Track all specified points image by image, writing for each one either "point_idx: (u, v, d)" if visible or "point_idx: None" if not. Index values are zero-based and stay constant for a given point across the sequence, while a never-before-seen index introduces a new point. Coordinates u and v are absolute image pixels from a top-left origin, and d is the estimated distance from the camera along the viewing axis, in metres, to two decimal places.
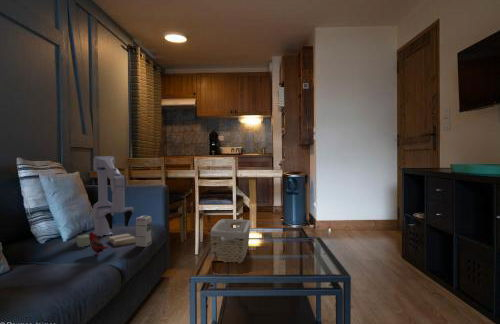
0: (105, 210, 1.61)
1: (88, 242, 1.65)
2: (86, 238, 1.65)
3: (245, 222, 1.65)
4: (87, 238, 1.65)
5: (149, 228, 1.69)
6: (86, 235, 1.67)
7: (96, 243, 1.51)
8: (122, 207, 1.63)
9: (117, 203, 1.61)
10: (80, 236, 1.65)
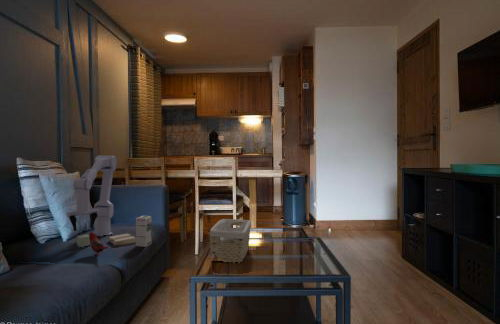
0: (69, 212, 1.62)
1: (88, 242, 1.65)
2: (86, 238, 1.65)
3: (245, 222, 1.65)
4: (87, 238, 1.65)
5: (149, 228, 1.69)
6: (86, 235, 1.67)
7: (96, 243, 1.51)
8: (86, 209, 1.64)
9: (81, 205, 1.62)
10: (80, 236, 1.65)
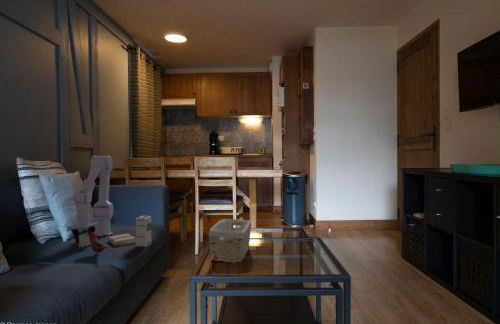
0: (69, 226, 1.62)
1: (88, 242, 1.65)
2: (86, 238, 1.65)
3: (246, 222, 1.65)
4: (87, 238, 1.65)
5: (149, 228, 1.69)
6: (86, 235, 1.67)
7: (96, 243, 1.51)
8: (86, 223, 1.64)
9: (81, 219, 1.63)
10: (80, 236, 1.65)
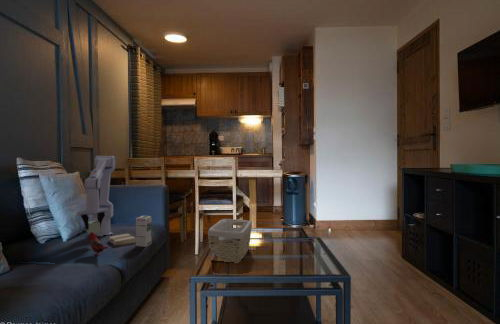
0: None
1: (97, 228, 1.67)
2: (96, 224, 1.66)
3: (246, 222, 1.65)
4: (97, 224, 1.66)
5: (149, 228, 1.69)
6: (95, 221, 1.68)
7: (96, 243, 1.51)
8: (96, 208, 1.65)
9: (91, 204, 1.64)
10: (90, 222, 1.66)
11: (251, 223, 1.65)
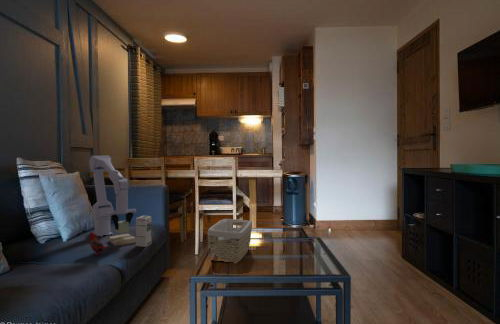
0: (109, 212, 1.69)
1: (127, 228, 1.72)
2: (125, 224, 1.71)
3: (246, 222, 1.65)
4: (126, 224, 1.71)
5: (149, 228, 1.69)
6: (124, 221, 1.73)
7: (96, 243, 1.51)
8: (125, 209, 1.71)
9: (120, 205, 1.69)
10: (119, 222, 1.71)
11: (251, 223, 1.64)
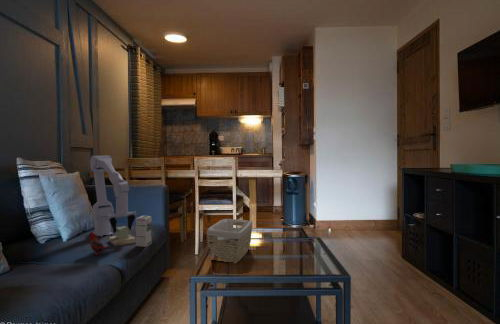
0: (109, 214, 1.69)
1: (127, 234, 1.72)
2: (125, 230, 1.71)
3: (247, 223, 1.64)
4: (126, 230, 1.72)
5: (149, 228, 1.69)
6: (125, 227, 1.74)
7: (96, 243, 1.51)
8: (125, 212, 1.71)
9: (121, 208, 1.69)
10: (119, 228, 1.72)
11: None
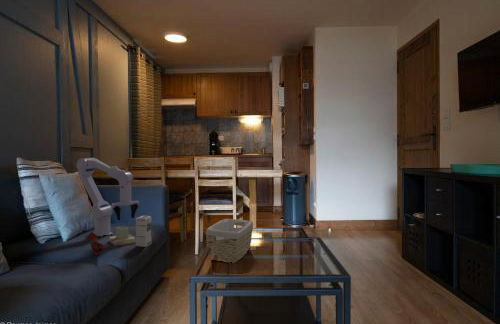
0: (114, 203, 1.78)
1: (127, 234, 1.72)
2: (125, 230, 1.71)
3: (247, 223, 1.64)
4: (126, 230, 1.71)
5: (149, 228, 1.69)
6: (125, 227, 1.73)
7: (96, 243, 1.51)
8: (129, 200, 1.80)
9: (124, 197, 1.78)
10: (119, 228, 1.72)
11: (252, 224, 1.64)
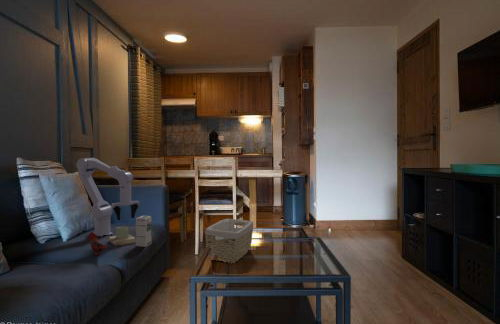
0: (114, 203, 1.78)
1: (127, 234, 1.72)
2: (125, 230, 1.71)
3: (247, 223, 1.64)
4: (126, 230, 1.72)
5: (149, 228, 1.69)
6: (125, 227, 1.74)
7: (96, 243, 1.51)
8: (129, 200, 1.80)
9: (124, 197, 1.78)
10: (119, 228, 1.72)
11: (252, 224, 1.63)
